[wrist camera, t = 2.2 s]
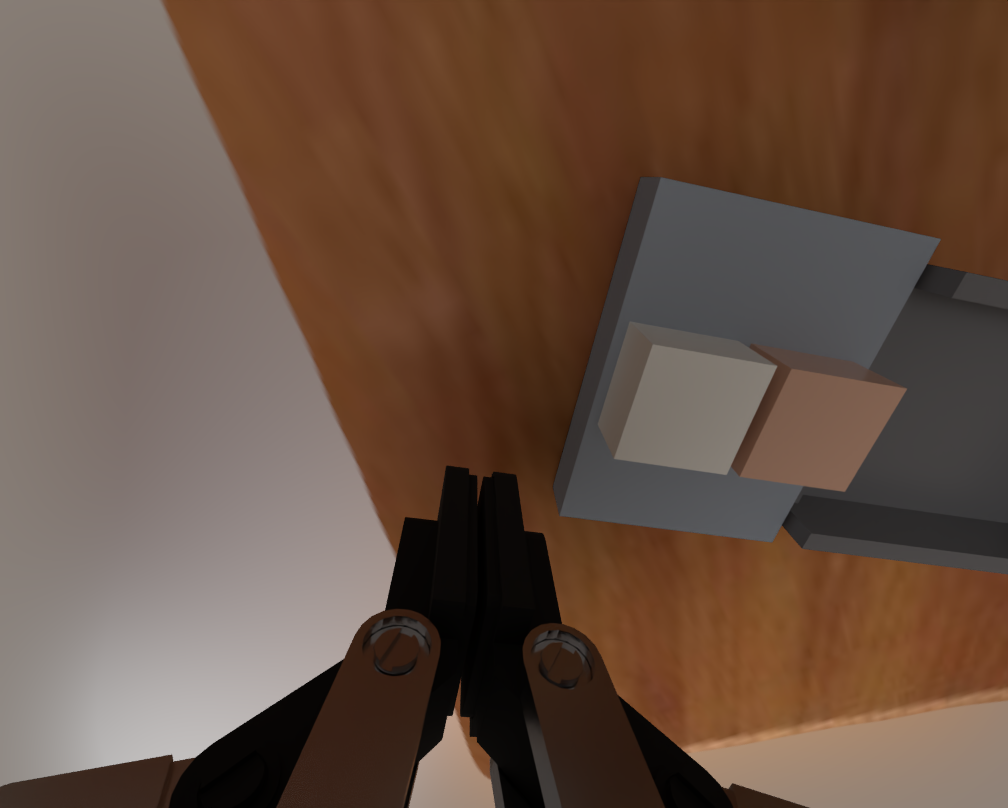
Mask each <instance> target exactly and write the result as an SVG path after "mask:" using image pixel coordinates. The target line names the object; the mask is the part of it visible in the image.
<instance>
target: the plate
mask: <svg viewBox="0 0 1008 808" xmlns="http://www.w3.org/2000/svg"><path fill="white" fill-rule="evenodd" d="M940 240H941V239H938V238H934V237H929V236H925V235H920V234H916V233H911V232H907V231H902V230H898V229H893V228H889V227H884V226H879V225H875V224H870V223H866V222H861V221H857V220H852V219H848V218H843V217H839V216H834V215H830V214H825V213H821V212H816V211H812V210H807V209H802V208H798V207H793V206H789V205H784V204H780V203H775V202H771V201H766V200H762V199H757V198H753V197H748V196H744V195H739V194H735V193H730V192H725V191H721V190H716V189H712V188H707V187H703V186H698V185H694V184H689V183H685V182H680V181H676V180H671V179H667V178H662V177H640V181H639V185H638V188H637V192H636V195H635V199H634V202H633V206H632V209H631V213H630V216H629V220H628V223H627V227H626V230H625V234H624V237H623V241H622V244H621V248H620V252H619V255H618V259H617V262H616V266H615V269H614V273H613V276H612V280H611V283H610V287H609V290H608V294H607V297H606V301H605V304H604V308H603V312H602V315H601V319H600V322H599V326H598V329H597V333H596V336H595V340H594V343H593V347H592V350H591V354H590V357H589V361H588V364H587V368H586V371H585V375H584V379H583V382H582V386H581V389H580V393H579V396H578V400H577V403H576V407H575V410H574V414H573V417H572V421H571V424H570V428H569V431H568V435H567V438H566V442H565V446H564V449H563V453H562V456H561V460H560V463H559V467H558V470H557V474H556V477H555V481H554V484H553V490H554V494H555V499H556V503H557V507H558V512H559V516H565V517H573V518H581V519H589V520H597V521H605V522H613V523H621V524H629V525H637V526H645V527H653V528H661V529H669V530H677V531H685V532H693V533H701V534H709V535H717V536H725V537H733V538H741V539H749V540H757V541H765V542H773V540H774V538H775V536H776V535H777V533H778V531H779V529H780V527H781V526H782V524H783V522H784V520H785V518H786V517H787V515H788V513H789V511H790V509H791V508H792V506H793V504H794V502H795V500H796V499H797V497H798V495H799V493H800V491H801V490H802V488H803V486H801V485H794V484H787V483H779V482H772V481H765V480H758V479H751V478H744V477H739V476H738V474H737V473H736V472H735V471H734V470H733V469H732V467H730V469H729V471H728V473H727V475H723V474H716V473H709V472H702V471H695V470H688V469H681V468H674V467H667V466H660V465H653V464H646V463H639V462H632V461H625V460H618V459H614V458H613V456H612V454H611V452H610V450H609V447H608V445H607V443H606V441H605V439H604V437H603V435H602V433H601V430H600V428H599V426H598V422H599V418H600V415H601V412H602V409H603V405H604V402H605V399H606V396H607V393H608V389H609V386H610V383H611V380H612V377H613V373H614V370H615V367H616V364H617V360H618V357H619V354H620V351H621V348H622V344H623V341H624V338H625V335H626V332H627V328H628V325H629V322H636V323H641V324H647V325H652V326H658V327H663V328H669V329H674V330H680V331H686V332H691V333H697V334H702V335H708V336H713V337H719V338H724V339H730V340H736V341H739V342H741V343H742V344H744V345H746V346H747V347H750V345H751V343H752V344H758V345H763V346H769V347H775V348H780V349H786V350H791V351H797V352H802V353H808V354H813V355H819V356H825V357H830V358H836V359H841V360H847V361H852V362H855V363H857V364H859V365H861V366H863V367H865V368H867V369H869V368H870V366H871V364H872V362H873V360H874V359H875V357H876V355H877V353H878V351H879V350H880V348H881V346H882V344H883V342H884V341H885V339H886V337H887V335H888V333H889V332H890V330H891V328H892V326H893V324H894V323H895V321H896V319H897V317H898V315H899V314H900V312H901V310H902V308H903V306H904V305H905V303H906V301H907V299H908V297H909V296H910V294H911V292H912V290H913V289H914V287H915V285H916V283H917V281H918V280H919V278H920V276H921V274H922V272H923V271H924V269H925V267H926V265H927V263H928V262H929V260H930V258H931V256H932V254H933V253H934V251H935V249H936V247H937V245H938V244H939V242H940Z"/></svg>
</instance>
